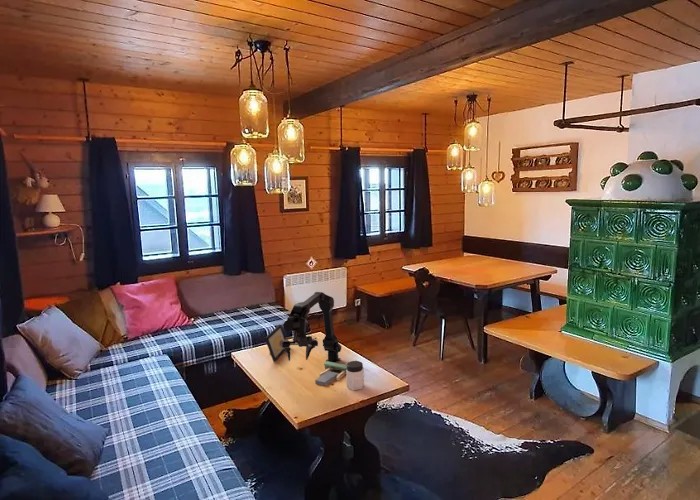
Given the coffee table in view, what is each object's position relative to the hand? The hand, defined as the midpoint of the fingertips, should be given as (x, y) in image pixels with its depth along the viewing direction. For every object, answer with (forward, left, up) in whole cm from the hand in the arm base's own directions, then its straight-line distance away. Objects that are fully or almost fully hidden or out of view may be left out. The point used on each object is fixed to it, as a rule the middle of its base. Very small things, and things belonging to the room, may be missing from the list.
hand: (298, 360), depth 220 cm
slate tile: (-12, +9, -15) cm, 21 cm away
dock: (-19, +9, -14) cm, 25 cm away
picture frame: (-29, -39, -15) cm, 51 cm away
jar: (-12, +26, -15) cm, 32 cm away
